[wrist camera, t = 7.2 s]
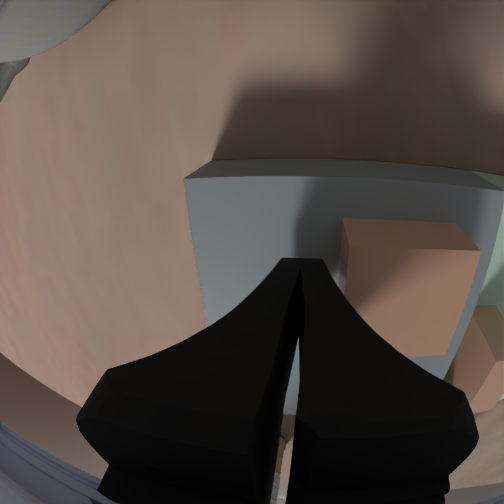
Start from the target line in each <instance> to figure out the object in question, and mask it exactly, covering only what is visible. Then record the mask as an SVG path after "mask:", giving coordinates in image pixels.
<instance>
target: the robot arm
mask: <svg viewBox="0 0 504 504" xmlns="http://www.w3.org/2000/svg"><path fill="white" fill-rule="evenodd" d="M298 337H299V392H298V401H297V409H296V417H295V428H294V439H293V449H292V459H291V468H290V476H289V483H288V490H287V496H286V503H285V504H445V497H444V494H447V493H448V492H449V490H450V484H449V475H450V474H451V473H452V472H453V471H454V470H455V469H456V468H457V467H458V466H459V465H460V464H461V463H462V462H463V461H464V460H465V459H466V458H467V457H468V456H469V455H470V454H471V452H472V451H473V450H474V448H475V447H476V445H477V442H478V439H479V434H478V430H477V427H476V423H475V419H474V415H473V412H472V409H471V407H470V404H469V402H468V399H467V397H466V395H465V392H464V391H462V390H460V389H458V388H457V387H455V386H453V385H451V384H449V383H447V382H445V381H444V380H442V379H440V378H438V377H436V376H434V375H433V374H431V373H429V372H428V371H426V370H425V369H423V368H422V367H420V366H419V365H417V364H416V363H414V362H413V361H411V360H410V359H408V358H407V357H406V356H404V355H403V354H402V353H400V352H399V351H398V350H396V349H395V348H394V347H393V346H391V345H390V344H389V343H388V342H387V341H385V340H384V339H383V338H382V337H381V336H380V335H379V334H377V333H376V332H375V331H374V330H373V329H372V328H371V327H370V326H369V325H368V324H367V323H366V322H365V320H364V319H363V318H362V317H361V316H360V315H359V314H358V312H357V311H356V310H355V309H354V308H353V306H352V305H351V304H350V303H349V301H348V300H347V298H346V297H345V296H344V294H343V293H342V291H341V290H340V288H339V287H338V285H337V284H336V282H335V281H334V279H333V277H332V276H331V274H330V272H329V270H328V268H327V266H326V264H325V262H324V261H323V260H322V259H318V258H281V259H280V260H279V261H278V263H277V264H276V265H275V267H274V268H273V269H272V270H271V272H270V273H269V274H268V275H267V276H266V277H265V279H264V280H263V281H262V282H261V283H260V284H259V285H258V286H257V287H256V288H255V289H254V290H253V291H252V292H251V293H250V294H249V295H248V296H247V297H246V298H245V299H244V300H243V301H242V302H240V303H239V304H238V305H237V306H236V307H235V308H234V309H232V310H231V311H230V312H229V313H227V314H226V315H225V316H223V317H222V318H221V319H219V320H218V321H216V322H215V323H213V324H212V325H210V326H208V327H207V328H205V329H203V330H201V331H200V332H198V333H196V334H195V335H193V336H191V337H189V338H188V339H186V340H184V341H182V342H180V343H178V344H176V345H173V346H171V347H169V348H167V349H165V350H162V351H160V352H157V353H155V354H153V355H150V356H147V357H145V358H142V359H139V360H136V361H133V362H130V363H126V364H123V365H120V366H117V367H114V368H110V369H107V370H106V372H105V373H104V374H103V376H102V377H101V379H100V380H99V382H98V383H97V385H96V386H95V388H94V389H93V391H92V393H91V394H90V396H89V397H88V399H87V400H86V402H85V404H84V405H83V407H82V408H81V410H80V412H79V413H78V416H77V418H76V422H77V425H78V428H79V431H80V432H81V434H82V435H83V436H84V438H85V439H86V440H87V442H88V443H90V445H91V446H92V447H93V448H94V449H95V450H96V451H97V452H98V454H99V455H100V456H101V457H102V458H103V459H104V460H105V461H106V462H107V463H108V464H109V466H108V468H107V470H106V472H105V475H104V476H103V479H100V478H98V477H95V476H93V475H91V474H89V473H86V472H85V471H82V470H80V469H78V468H76V467H74V466H72V465H70V464H68V463H66V462H65V461H63V460H60V459H59V458H57V457H55V456H53V455H52V454H50V453H48V452H47V451H45V450H43V449H41V448H40V447H38V446H36V445H35V444H33V443H31V442H30V441H28V440H27V439H25V438H24V437H22V436H21V435H19V434H17V433H16V432H15V431H13V430H12V429H10V428H9V427H7V426H6V425H5V424H3V423H2V422H0V504H270V501H271V495H272V488H273V482H274V475H275V469H276V462H277V455H278V448H279V441H280V433H281V426H282V419H283V411H284V404H285V398H286V393H287V388H288V384H289V380H290V375H291V371H292V366H293V361H294V357H295V352H296V347H297V342H298ZM475 504H504V493H503V494H501V495H498V496H496V497H493V498H490V499H487V500H484V501H481V502H478V503H475Z"/></svg>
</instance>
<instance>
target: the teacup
mask: <svg viewBox="0 0 504 504" xmlns="http://www.w3.org/2000/svg"><path fill="white" fill-rule="evenodd" d="M110 1H111V0H0V102H1V100H2V99H3V97H4V95H5V93H6V91H7V89H8V88H9V86H10V84H11V82H12V80H13V79H14V77H15V76H16V75H17V74H18V73H19V72H21V71H22V70H23V69H24V68H25V67H26V66H27V64H28V63H29V60H30V57H31V56H34V55H37V54H40V53H43V52H45V51H47V50H49V49H51V48H53V47H55V46H57V45H59V44H61V43H62V42H64V41H66V40H67V39H69V38H70V37H71V36H73V35H74V34H76V33H77V32H78V31H80V30H81V29H82V28H83V27H85V26H86V25H87V24H88V23H89V22H90V21H92V20H93V19H94V18H95V17H96V16H97V15H98V14H99V13H100V12H101V11H102V10H103V9H104V8H105V7H106V6H107V5H108V4H109V3H110Z"/></svg>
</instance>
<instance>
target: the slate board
mask: <svg viewBox="0 0 504 504" xmlns="http://www.w3.org/2000/svg"><path fill="white" fill-rule="evenodd" d="M184 186H185V194H186V202H187V209H188V216H189V223H190V230H191V236H192V243H193V249H194V256H195V262H196V268H197V274H198V280H199V286H200V291H201V297H202V302H203V308H204V313H205V319H206V324H207V327H208V326H210V325H212V324H213V323H215V322H216V321H218V320H219V319H221V318H222V317H223V316H225V315H226V314H227V313H229V312H230V311H231V310H232V309H234V308H235V307H236V306H237V305H238V304H239V303H240V302H242V301H243V300H244V299H245V298H246V297H247V296H248V295H249V294H250V293H251V292H252V291H253V290H254V289H255V288H256V287H257V286H258V285H259V284H260V283H261V282H262V281H263V280H264V279H265V277H266V276H267V275H268V274H269V273H270V272H271V270H272V269H273V268H274V267H275V265H276V264H277V263H278V261H279V260H280V259H281V258H318V259H322V260H323V261H324V262H325V264H326V266H327V268H328V270H329V272H330V274H331V276H332V277H333V279H334V281H335V282H336V284H338V273H339V261H340V249H341V234H342V218H358V219H384V220H405V221H424V222H441V223H456V224H457V225H458V227H459V228H460V229H461V230H462V231H463V232H464V233H465V234H466V235H467V236H468V237H469V238H470V239H471V240H472V241H473V242H474V244H475V245H476V246H477V247H478V248H479V249H480V250H481V254H480V257H479V261H478V265H477V268H476V272H475V275H474V278H473V282H472V285H471V288H470V291H469V294H468V297H467V300H466V303H465V306H464V309H463V311H462V314H461V317H460V319H459V322H458V325H457V327H456V330H455V332H454V335H453V337H452V340H451V342H450V344H449V347H448V349H447V351H446V354H445V355H435V356H418V357H407V358H408V359H410V360H411V361H413V362H414V363H416V364H417V365H419V366H420V367H422V368H423V369H425V370H426V371H428V372H429V373H431V374H433V375H434V376H436V377H438V378H440V379H442V380H443V379H444V377H445V375H446V373H447V371H448V369H449V367H450V365H451V363H452V361H453V359H454V356H455V354H456V352H457V350H458V348H459V346H460V343H461V341H462V339H463V336H464V334H465V332H466V329H467V327H468V324H469V322H470V319H471V317H472V314H473V312H474V309H475V306H476V304H477V301H478V298H479V295H480V292H481V289H482V286H483V283H484V280H485V277H486V274H487V271H488V267H489V264H490V260H491V257H492V253H493V249H494V246H495V242H496V238H497V233H498V229H499V225H500V220H501V215H502V210H503V205H504V190H502V189H500V188H499V187H497V186H496V185H494V184H492V183H491V182H489V181H487V180H486V179H484V178H482V177H480V176H479V175H477V174H475V173H473V172H471V171H469V170H462V169H454V168H446V167H438V166H428V165H418V164H408V163H395V162H381V161H365V160H343V159H239V160H216V161H210V162H208V163H207V164H205V165H204V166H202V167H201V168H199V169H198V170H196V171H195V172H193V173H192V174H190V175H189V176H187V177H186V178H184ZM298 392H299V337H298V342H297V347H296V352H295V357H294V361H293V366H292V371H291V375H290V380H289V384H288V388H287V393H286V398H285V404H284V411H283V414H290V415H296V409H297V401H298Z"/></svg>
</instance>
